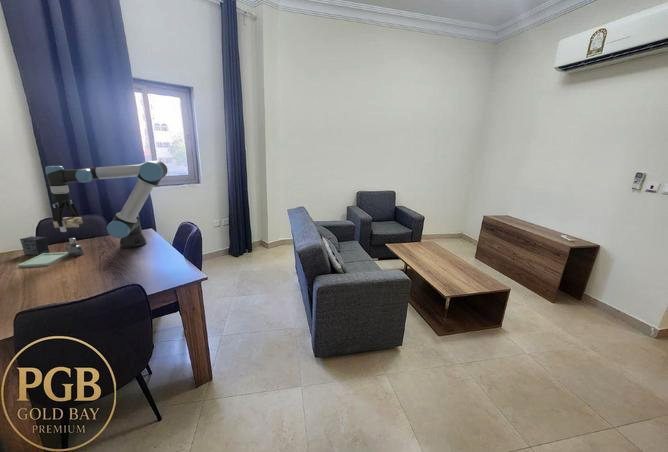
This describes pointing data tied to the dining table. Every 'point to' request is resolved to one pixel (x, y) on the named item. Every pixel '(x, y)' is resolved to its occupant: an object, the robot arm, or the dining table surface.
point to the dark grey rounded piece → (74, 248)
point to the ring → (70, 222)
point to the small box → (34, 245)
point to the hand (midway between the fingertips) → (70, 229)
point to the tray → (44, 259)
